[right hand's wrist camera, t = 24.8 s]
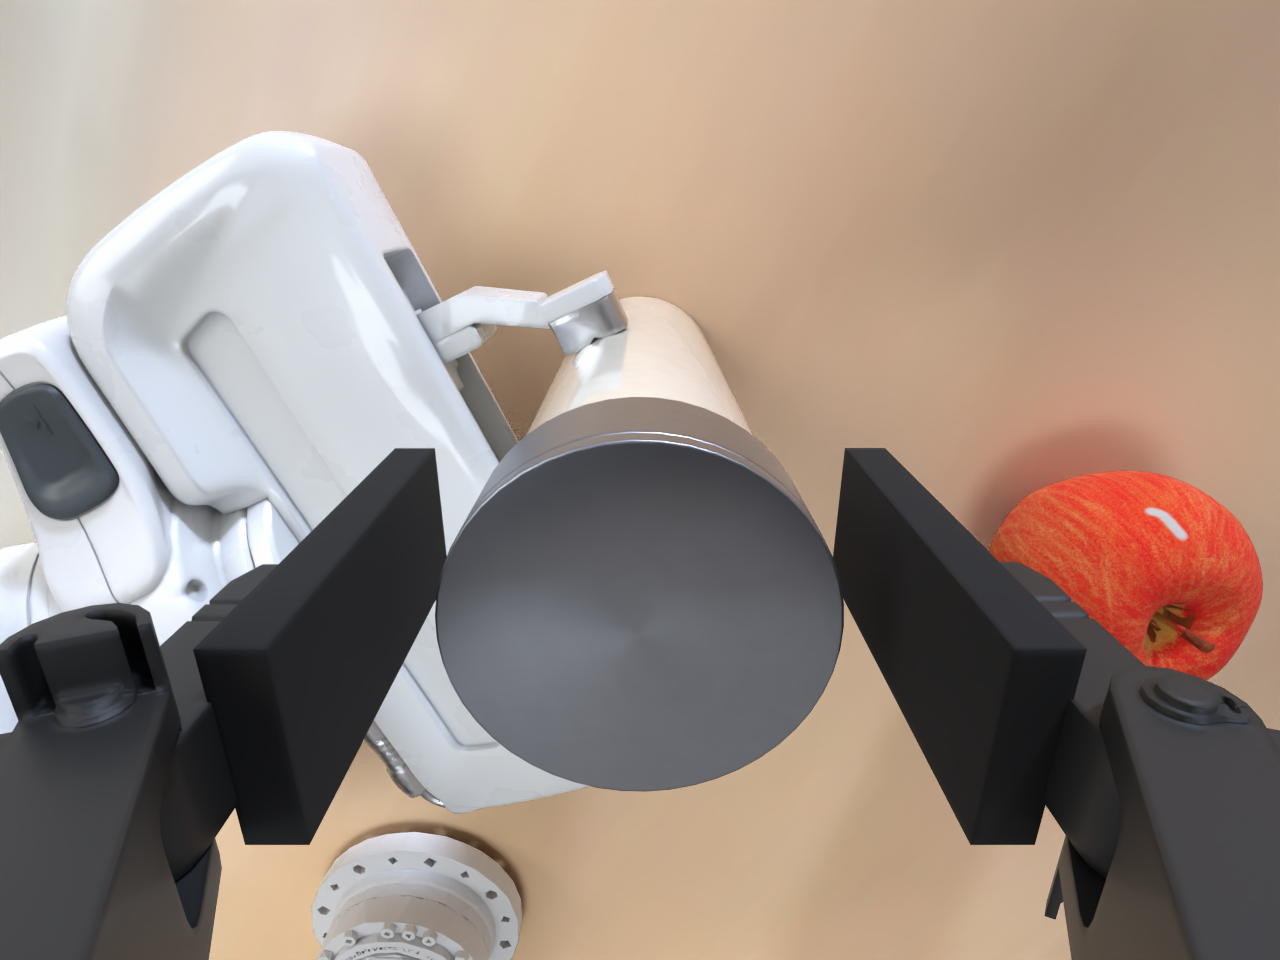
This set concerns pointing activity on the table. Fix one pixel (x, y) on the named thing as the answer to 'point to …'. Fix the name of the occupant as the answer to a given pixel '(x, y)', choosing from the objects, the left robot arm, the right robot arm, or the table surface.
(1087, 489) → the apple
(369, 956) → the mechanical component
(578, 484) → the lid
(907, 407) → the table surface
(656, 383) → the white bottle
